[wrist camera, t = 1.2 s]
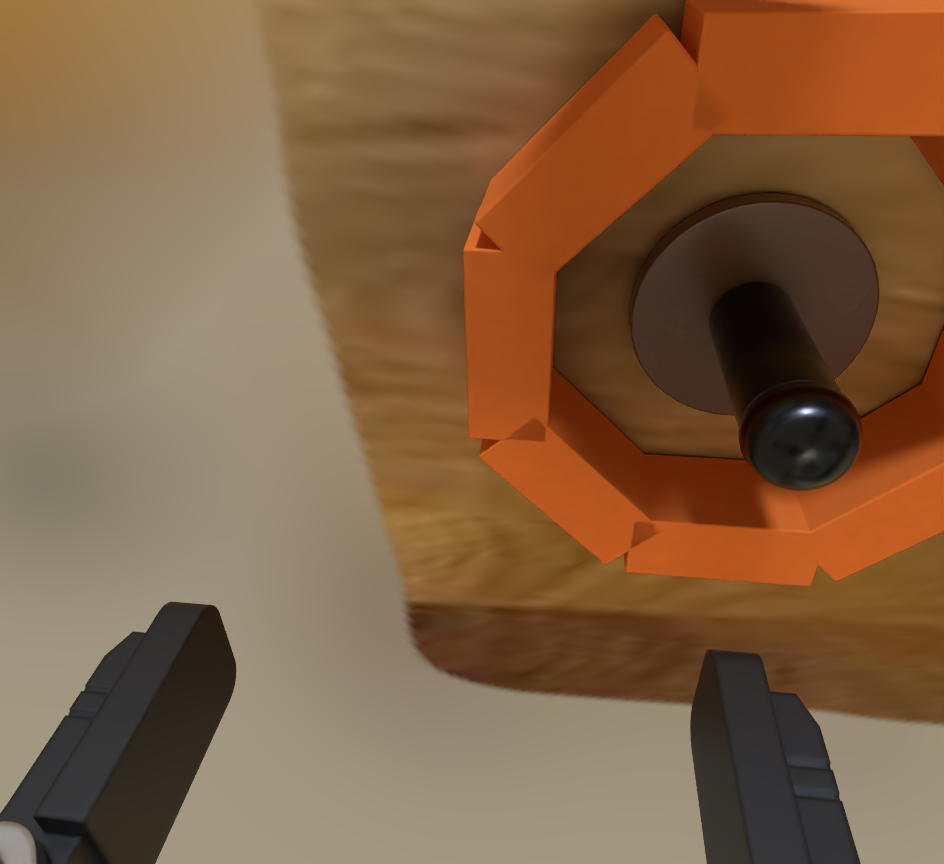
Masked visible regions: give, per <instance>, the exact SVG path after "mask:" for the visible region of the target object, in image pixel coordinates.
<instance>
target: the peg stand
mask: <svg viewBox="0 0 944 864" xmlns="http://www.w3.org/2000/svg"><path fill="white" fill-rule="evenodd" d="M878 300H879V282H878V275H877V271H876V267H875V264H874V261H873V259H872V256H871V254H870V252H869V250H868V248H867V247H866V245H865V244H864V242H863V241H862V239H861V238H860V237H859V236H858V235H857V233H856V232H855V231H854V230H853V229H852V228H851V227H850V226H849V225H848V223H847V222H846V221H845V220H844V219H842V218H841V217H840V216H839V215H837V214H836V213H835V212H833V211H832V210H830V209H828V208H827V207H825V206H823V205H821V204H819V203H817V202H814V201H812V200H809V199H806V198H803V197H799V196H794V195H789V194H779V193H757V194H749V195H743V196H737V197H733V198H730V199H727V200H723V201H720V202H717V203H715V204H713V205H710V206H708V207H706V208H703V209H702V210H700V211H698V212H696V213H695V214H693V215H691V216H689V217H688V218H686V219H685V220H684V221H682V222H681V223H680V224H678V225H677V226H675V227H674V228H673V229H672V230H671V231H670V232H669V233H668V234H667V235H666V236H665V237H663V238H662V240H661V241H660V242H659V243H658V244H657V245H656V247H655V248H654V249H653V250H652V252H651V253H650V255H649V256H648V258H647V259H646V261H645V262H644V264H643V266H642V268H641V270H640V272H639V274H638V276H637V279H636V282H635V285H634V288H633V291H632V297H631V302H630V326H631V335H632V342H633V346H634V349H635V353H636V355H637V358H638V360H639V362H640V364H641V366H642V368H643V369H644V371H645V372H646V374H647V375H648V376H649V378H650V379H651V380H652V381H653V382H654V383H655V385H657V386H658V387H659V388H660V389H661V390H662V391H663V392H665V393H666V394H667V395H669V396H670V397H672V398H673V399H675V400H676V401H679V402H681V403H683V404H685V405H687V406H689V407H692V408H695V409H698V410H701V411H705V412H709V413H714V414H722V415H735V417H736V420H737V423H738V427H739V444H740V449H741V452H742V454H743V457H744V459H745V461H746V462H747V464H748V465H749V467H750V468H751V469H752V470H753V471H754V472H755V473H756V474H757V475H758V476H759V477H760V478H761V479H763V480H764V481H766V482H768V483H769V484H771V485H774V486H776V487H779V488H782V489H786V490H791V491H810V490H816V489H820V488H823V487H825V486H828V485H830V484H832V483H834V482H835V481H837V480H839V479H840V478H841V477H843V476H844V475H845V474H846V473H847V472H848V471H849V470H850V468H851V467H852V466H853V464H854V463H855V461H856V460H857V457H858V455H859V453H860V450H861V446H862V437H863V431H862V424H861V420H860V417H859V415H858V412H857V410H856V408H855V407H854V406H853V404H852V403H851V401H850V400H849V399H848V398H847V397H846V396H845V395H844V394H843V393H842V392H841V391H840V389H839V387H838V386H837V384H836V382H835V380H834V379H835V378H836V377H837V376H839V375H840V374H841V373H842V372H843V371H844V370H845V369H846V368H847V366H848V365H849V364H850V363H851V362H852V361H853V360H854V358H855V357H856V356H857V354H858V353H859V352H860V350H861V349H862V347H863V345H864V343H865V342H866V340H867V338H868V336H869V334H870V331H871V329H872V326H873V324H874V321H875V317H876V313H877V309H878Z"/></svg>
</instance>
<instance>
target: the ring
mask: <svg viewBox="0 0 944 864" xmlns="http://www.w3.org/2000/svg"><path fill="white" fill-rule="evenodd" d="M713 135H830V136H911V138H912V139H913V140H914V142H915V143H916V145H917V146H918V148H919V149H920V151H921V152H922V153H923V155H924V156H925V158H926V159H927V161H928V162H929V164H930V165H931V166H932V168H933V169H934V171H935V172H936V174H937V175H938V177H939V178H940V179H941V181H942V182H943V184H944V0H686V1H685V7H684V15H683V22H682V30H681V38H680V41H679V40H678V39H677V38H676V36H675V35H674V34H673V32H672V31H671V30H670V29H669V27H668V26H667V25H666V24H665V22H664V21H663V20H662V18H661V17H660V16H659V15H658V14H654V15H652V16H651V17H650V18H649V19H648V20H647V21H646V22H645V23H644V24H643V25H642V26H641V27H640V28H639V30H638V31H637V32H636V33H635V34H634V35H633V36H632V37H631V38H630V39H629V40H628V41H627V42H626V43H625V44H624V45H623V46H622V47H621V48H620V49H619V50H618V51H617V52H616V53H615V54H614V55H613V56H612V57H611V58H610V59H609V60H608V61H607V62H606V63H605V64H604V65H603V66H602V67H601V68H600V69H599V70H598V71H597V72H596V73H595V74H594V75H593V76H592V77H591V78H590V79H589V80H588V81H587V82H586V84H585V85H584V86H583V87H582V88H581V89H580V90H579V91H578V92H577V93H576V94H575V95H574V96H573V97H572V98H571V99H570V100H569V101H568V102H567V103H566V104H565V105H564V106H563V107H562V108H561V109H560V110H559V111H558V112H557V113H556V114H555V115H554V116H553V117H552V118H551V119H550V120H549V121H548V122H547V123H546V124H545V125H544V126H543V127H542V128H541V129H540V130H539V131H538V132H537V133H536V134H535V135H534V136H533V138H532V139H531V140H530V141H529V142H528V143H527V144H526V145H525V146H524V147H523V148H522V149H521V150H520V151H519V152H518V153H517V154H516V155H515V156H514V157H513V158H512V159H511V160H510V161H509V162H508V163H507V164H506V165H505V166H504V167H503V168H502V169H501V170H500V171H499V172H498V173H497V174H496V175H495V176H494V177H493V178H492V179H491V181H490V183H489V186H488V188H487V191H486V194H485V196H484V199H483V202H482V204H481V206H480V207H479V210H478V212H477V215H476V218H475V220H474V223H473V226H472V228H471V231H470V234H469V236H468V239H467V241H466V244H465V247H464V249H463V269H464V301H465V333H466V365H467V396H468V428H469V438H475V439H482V444H481V449H480V454H479V458H480V459H482V460H483V461H484V462H485V463H486V464H488V465H489V466H490V467H491V468H492V469H493V470H495V471H496V472H497V473H498V474H499V475H501V476H502V477H503V478H504V479H505V480H506V481H508V482H509V483H510V484H511V485H512V486H513V487H515V488H516V489H517V490H518V491H519V492H521V493H522V494H523V495H524V496H525V497H526V498H528V499H529V500H530V501H531V502H532V503H534V504H535V505H536V506H537V507H538V508H539V509H541V510H542V511H543V512H544V513H545V514H546V515H548V516H549V517H550V518H551V519H552V520H554V521H555V522H556V523H557V524H558V525H559V526H561V527H562V528H563V529H564V530H565V531H567V532H568V533H569V534H570V535H571V536H572V537H574V538H575V539H576V540H577V541H578V542H579V543H581V544H582V545H583V546H584V547H585V548H587V549H588V550H589V551H590V552H591V553H592V554H594V555H595V556H596V557H597V558H598V559H600V560H601V561H602V562H603V563H604V564H607V563H609V562H611V561H612V560H614V559H616V558H618V557H619V556H621V555H623V554H624V559H625V571H626V572H633V573H646V574H658V575H671V576H684V577H697V578H710V579H722V580H735V581H748V582H761V583H774V584H786V585H799V586H811V583H812V581H813V578H814V575H815V572H816V569H817V567H818V565H819V566H820V567H821V568H822V569H823V570H824V571H825V572H826V573H827V574H828V575H829V576H830V577H831V578H832V579H833V580H834V581H838V580H840V579H842V578H844V577H847V576H849V575H851V574H853V573H855V572H857V571H859V570H862V569H864V568H866V567H868V566H870V565H872V564H874V563H877V562H879V561H881V560H883V559H885V558H887V557H889V556H892V555H894V554H896V553H898V552H900V551H902V550H904V549H907V548H909V547H911V546H913V545H915V544H917V543H920V542H922V541H924V540H926V539H928V538H930V537H932V536H935V535H937V534H939V533H941V532H943V531H944V329H943V331H942V334H941V336H940V339H939V341H938V344H937V346H936V349H935V351H934V354H933V356H932V359H931V361H930V364H929V367H928V369H927V372H926V374H925V377H924V379H923V382H922V384H920V385H919V386H917V387H915V388H913V389H912V390H910V391H908V392H906V393H905V394H903V395H901V396H899V397H898V398H896V399H894V400H892V401H891V402H889V403H887V404H886V405H884V406H882V407H880V408H879V409H877V410H875V411H873V412H872V413H870V414H868V415H866V416H865V417H863V418H861V419H860V420H861V424H862V431H863V437H862V446H861V450H860V453H859V455H858V457H857V460H856V461H855V463H854V464H853V466H852V467H851V468H850V470H849V471H848V472H847V473H846V474H845V475H844V476H843V477H841V478H840V479H839V480H837V481H835V482H834V483H832V484H830V485H828V486H825V487H823V488H820V489H816V490H810V491H791V490H786V489H782V488H779V487H776V486H774V485H771V484H769V483H768V482H766V481H764V480H763V479H761V478H760V477H759V476H758V475H757V474H756V473H755V472H754V471H753V470H752V469H751V468H750V467H749V465H748V464H747V462H746V461H745V460H736V459H719V458H702V457H684V456H667V455H650V454H644V453H643V452H642V451H641V450H640V449H638V448H637V447H636V446H635V445H634V444H633V443H632V442H631V441H630V440H629V439H628V438H627V437H626V436H625V435H624V434H623V433H622V432H621V431H620V430H618V429H617V428H616V427H615V426H614V425H613V424H612V423H611V422H610V421H609V420H608V419H607V418H606V417H605V416H604V415H603V414H602V413H601V412H600V411H598V410H597V409H596V408H595V407H594V406H593V405H592V404H591V403H590V402H589V401H588V400H587V399H586V398H585V397H584V396H583V395H582V394H581V393H579V392H578V391H577V390H576V389H575V388H574V387H573V386H572V385H571V384H570V383H569V382H568V381H567V380H566V379H565V378H564V377H563V376H562V375H561V374H559V373H558V372H557V371H556V370H555V369H554V368H553V356H554V335H555V314H556V294H557V273H558V270H559V269H560V268H561V267H563V266H564V265H565V264H566V263H567V262H568V261H569V260H571V259H572V258H573V257H574V256H575V255H576V254H577V253H579V252H580V251H581V250H582V249H583V248H584V247H586V246H587V245H588V244H589V243H590V242H591V241H592V240H594V239H595V238H596V237H597V236H598V235H599V234H600V233H602V232H603V231H604V230H605V229H606V228H607V227H608V226H610V225H611V224H612V223H613V222H614V221H615V220H616V219H618V218H619V217H620V216H621V215H622V214H623V213H624V212H626V211H627V210H628V209H629V208H630V207H631V206H633V205H634V204H635V203H636V202H637V201H638V200H639V199H641V198H642V197H643V196H644V195H645V194H646V193H647V192H649V191H650V190H651V189H652V188H653V187H654V186H655V185H657V184H658V183H659V182H660V181H661V180H662V179H663V178H665V177H666V176H667V175H668V174H669V173H670V172H672V171H673V170H674V169H675V168H676V167H677V166H678V165H680V164H681V163H682V162H683V161H684V160H685V159H686V158H688V157H689V156H690V155H691V154H692V153H693V152H694V151H696V150H697V149H698V148H699V147H700V146H701V145H702V144H704V143H705V142H706V141H707V140H708V139H709V138H710V137H712V136H713Z"/></svg>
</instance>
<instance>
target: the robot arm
mask: <svg viewBox="0 0 944 864" xmlns="http://www.w3.org/2000/svg"><path fill="white" fill-rule="evenodd" d="M235 680H236V663H235V658H234V656H233V652H232V650H231V646H230V644H229V640H228V637H227V634H226V631H225V629H224V625H223V622H222V619H221V616H220V613H219V611H218V609H217V608H216V607H215V606H213V605H203V604H192V603H191V604H190V603H180V602H169V603H167V604H166V605H164V606H163V607H162V609H161V610H160V611H159V613H158V614H157V616H156V617H155V619H154V621H153V623H152V624H151V625H150V627H149V629H148V630H147V632H146V633H141V632H132V633H131V634H130V635H129V636H127V637H126V638H125V639H124V640H123V641H122V642H121V643H119V644H118V645H117V646H116V647H115V648H114V649H112V650H111V651H110V652H109V653H108V654H107V655H105V656H104V658H103V659H102V661H101V663H100V664H99V665H98V667H97V668H96V670H95V671H94V673H93V674H92V676H91V677H90V679H89V681H88V682H87V684H86V685H85V686H86V688H85V690H84V691H81V693H80V694H79V696H78V697H77V699H76V700H75V702H74V703H73V705H72V706H71V708H70V713H69V715H68V716H65V717H64V719H63V720H62V722H61V724H60V725H59V726H58V728H57V729H56V731H55V732H54V734H53V735H52V737H51V738H50V740H49V741H48V743H47V744H46V746H45V747H44V749H43V750H42V752H41V753H40V755H39V757H38V758H37V760H36V761H35V763H34V764H33V766H32V767H31V769H30V770H29V772H28V773H27V775H26V776H25V778H24V779H23V781H22V782H21V784H20V786H19V787H18V788H17V790H16V792H15V793H14V794H13V796H12V797H11V799H10V801H9V802H8V804H7V805H6V806H5V808H4V809H3V811H2V812H1V813H0V864H155V863H156V860H157V858H158V856H159V854H160V852H161V849H162V847H163V845H164V843H165V841H166V839H167V836H168V834H169V832H170V830H171V828H172V825H173V823H174V821H175V819H176V817H177V815H178V812H179V810H180V808H181V806H182V804H183V802H184V799H185V797H186V795H187V793H188V791H189V788H190V786H191V784H192V782H193V780H194V778H195V775H196V773H197V771H198V769H199V767H200V764H201V762H202V760H203V758H204V756H205V753H206V751H207V749H208V747H209V745H210V743H211V740H212V738H213V736H214V734H215V731H216V729H217V727H218V725H219V723H220V721H221V718H222V716H223V714H224V712H225V710H226V708H227V705H228V703H229V701H230V699H231V696H232V693H233V689H234V685H235ZM690 728H691V747H692V755H693V762H694V770H695V778H696V785H697V792H698V800H699V807H700V815H701V822H702V830H703V838H704V845H705V853H706V859H707V864H860V860H859V857H858V854H857V850H856V847H855V844H854V840H853V837H852V834H851V830H850V827H849V824H848V820H847V817H846V813H845V810H844V807H843V803H842V801H840V799H839V790H838V787H837V784H836V780H835V776H834V773H833V770H831V768H830V760H829V756H828V753H827V749H826V747H825V743H824V739H823V736H822V733H821V729H820V726H819V725H818V724H817V722H816V721H815V720H814V718H813V717H812V715H811V714H810V713H809V711H808V710H807V709H806V707H805V706H804V704H803V703H802V702H801V700H800V699H799V698H798V696H797V695H796V694H791V693H780V692H770V689H769V685H768V681H767V677H766V673H765V669H764V665H763V662H762V659H761V657H760V656H759V655H758V654H756V653H745V652H733V651H722V650H710V649H709V650H707V652H706V654H705V657H704V661H703V665H702V669H701V673H700V677H699V681H698V685H697V689H696V693H695V697H694V701H693V705H692V711H691V727H690Z"/></svg>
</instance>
